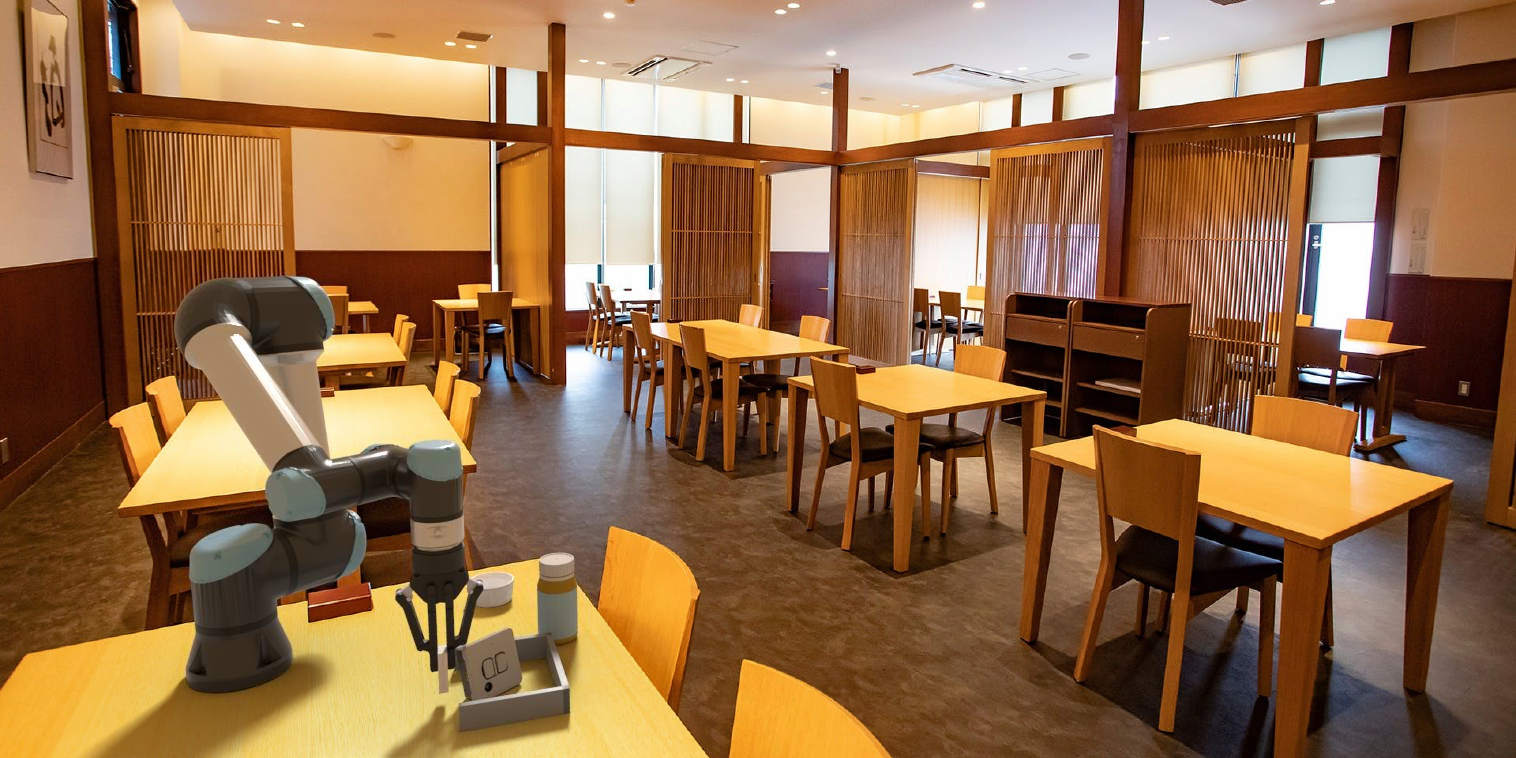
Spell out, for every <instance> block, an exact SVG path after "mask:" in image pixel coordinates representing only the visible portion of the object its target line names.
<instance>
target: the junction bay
mask: <svg viewBox="0 0 1516 758" xmlns="http://www.w3.org/2000/svg"><path fill="white" fill-rule="evenodd" d="M514 639H515V644H516V649H517V654H518V659H519V662H526V661H532V660H539V659H543V658H546V660H547V663H548V667H549V669H550V673H551V677H552V681H553V683H554V687H549V688H542V689H537V690H531V691H525V692H518V693H513V694H506V695H500V696H499V695H498V696H495V697H493V698H487V699H481V700H475V701H472V700H470V701H463V702H458V720H459V721H458V722H459V723H458V724H459V725H458V726H459V733H463V732H468V731H473V730H478V729H484V728H489V727H490V728H491V727H496V726H501V725H506V724H507V725H508V724H512V723H517V722H524V721H531V720H536V719H541V718H545V717H552V716H558V715H563V714H569V713H571V688H570V684H569V682H568V678H567V676H566V674H565V673H566V672H565V670H564V667H563V664H562V661H561V658H560V654H559V652H558V649H557V645H555V642H554V639H553V636H552V633H551V632H550V633H543V634H538V633H537V634H536V633H535V634H529V635H523V636H514ZM468 644H469V643H466V644H465V645H463V646H466V645H468ZM463 646H462V645H461V646H458V647H457V648H456V650H457V649H459V648H461V647H463ZM456 650H455V663H456V666H455V668H454V672H458V671H459V672H460V669H459V665H458V660H457V655H456ZM465 669H466V668H465Z"/></svg>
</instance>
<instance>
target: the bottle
mask: <svg viewBox="0 0 1516 758" xmlns="http://www.w3.org/2000/svg"><path fill="white" fill-rule="evenodd" d="M538 572H539V574H538V575H539V578H538V580H537V583H536V595H537V596H536V600H537V601H536V603H537V605H536V606H537V609H536V610H537V634H543V633H550V632H551V633H552V636H553V639H554V642H555V645H556V646H560V645H561V646H562V645H565V644H568V643H570V642H572V641H573V640H574V639H575V638H577V635H578V633H579V632H578V629H579V627H578V626H579V623H578V618H579V617H578V582H577V579H576V577H575V557H574V555H572V554H570V553H568V552H551V553H548V554H545V555H542V556H540V558H539V559H538Z"/></svg>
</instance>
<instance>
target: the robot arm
mask: <svg viewBox="0 0 1516 758" xmlns="http://www.w3.org/2000/svg"><path fill="white" fill-rule="evenodd" d="M173 323H174V324H173V329H174V330H173V331H174V338H175V341H176V344H177V346H178V349H179V351H180V352H181V354H182V356H183V357H184V359H185V360H186V362H187V363H188V364H189V365H190V366H191V367H192V368H195V369H198V370H201V371H202V372H203V374H204V375H205V378H207V380H208V382H209V383H210V385H212V387H213V389H214V390H215V392H216V393H217V395H218V396H219V399H221V401H222V403H224V405H225V407H226V408H227V410H228V411H229V412H230V414H231V416H232V417H233V419H234V420H235V422H236V424H237V425H238V427H239V428H240V429H241V430H242V432H243V434H244V435H245V436H246V438H247V440H248V442H249V443H250V444H251V446H252V448H253V449H254V450H255V452H256V454H257V455H258V456H259V459H260V460H261V461H262V462H263V464H264V465H265V468H267V470H268V471H269V473H270V474H269V476H267V480H266V482H265V487H264V488H265V489H264V493H265V494H264V495H265V499H266V500H267V502H268V508H269V510H270V512H271V514H272V521H273V528H271V527H270V526H269V525H267V524H264V523H255V522H254V523H246V524H243V525H239V524H238V525H233V526H229V527H227V528H223V529H220V530H217V531H215V532H213V533H209V534H208V535H205V537H204V536H203V538H201V539H200V540H199V541H198V542H196V543H195V545H194V546H193V547H192V548H191V551H190V553H189V569H188V570H189V571H188V578H189V581H190V587H191V588H190V589H191V598H192V608H193V609H192V610H193V618H194V619H193V620H194V628H195V629H194V630H195V631H194V632H195V634H194V638H193V641H192V645H191V648H190V651H189V655H188V659H187V662H186V666H185V677H186V678H185V679H186V684H187V686H188V687H189V688H191V687H192V688H191V689H193V690H195V691H198V692H202V691H205V692H204V693H226V692H227V693H228V692H233V691H234V692H235V691H239V690H244V689H248V688H252V687H255V686H258V685H261V684H264V683H266V682H267V683H268V681H271V680H273V679H275V678H277V677H279V676H280V675H282V674H284V673H285V671H287V670H288V669H289V668H290V667H291V666H292V664H293V661H294V656H293V646H292V644H291V641H290V640H289V637H288V635H287V634H286V631H285V629H284V627H283V625H282V623H281V621H280V619H279V616H278V615H279V614H278V601H277V600H279V599H281V598H285V597H287V596H290V595H294V594H297V593H299V592H300V593H301V592H302V591H303V592H304V591H305V590H310V589H312V588H316V587H318V586H321V585H325V584H327V583H328V584H330V583H331V584H332V583H334V582H336V581H338V580H339V579H341V578H344V577H347V576H349V575H351V574H353V573H354V572H355V571H357V570H358V569H359V567H360V565H361V563H363V561H364V559H365V555H366V552H367V551H366V549H367V534H366V528H365V526H364V525H365V524H364V523H362V521H361V520H362V518H361V517H360V516H359V515H358V514H357V512H355V511H354V510H351V509H348V508H351V507H357V506H361V505H364V504H365V505H366V504H368V503H372V502H376V501H379V500H384V499H387V498H392V497H393V498H394V497H396V498H399V499H403V500H405V501H406V500H407V501H409V516H410V536H411V538H410V539H411V544H412V545H413V547H412V548H411V563H412V574H411V577H410V579H409V583H408V584H407V585H405V586H404V587H402V588H398V589H396V590H395V596H394V600H395V602H396V603H397V604H398V605H399V607H400V608H402V609H403V610H402V611H403V613H404V616H405V619H406V621H407V624H408V629H409V630H410V633H411V637H412V639H413V643H414V645H415V648H416V650H417V651H418V652H423V651H424V652H427V653H428V654H429V670H430V672H431V673H436V672H438V695H439V694H440V695H441V694H445V693H446V694H447V693H450V692H449V670H450V671H451V670H455V666H456V663H455V650H456V648H457V647H458V646H461V645H462V646H463V645H466V644H468V640H469V636H470V631H471V627H472V622H473V619H474V614H475V610H476V607H477V606H476V602H477V599H478V598H479V596H480V595H481V593H482V591H483V590H484V587H483V582H482V580H475V579H473V578H472V577H470V574H469V572H468V570H467V568H466V550H465V543H464V541H463V540H464V538H465V519H464V518H465V517H464V515H465V514H464V489H463V487H464V485H463V483H464V481H463V477H464V476H463V472H464V467H463V463H462V455H461V454H462V452H461V447H460V446H459V444H458V443H457V442H455V441H452V440H448V439H444V440H442V439H441V440H440V439H429V440H423V441H422V440H421V441H417V442H415V443H412V444H411V445H410V446H409V447H408V448H407V447H403V446H399V445H397V444H393V443H374V444H371V445H369V446H367V447H366V448H365V449H364V450H362V451H361V452H359V453H357V454H352V455H347V456H342V457H336V458H331V454H330V447H329V441H328V440H329V439H328V435H327V428H326V420H325V412H324V405H323V399H322V393H321V392H322V391H321V386H320V379H319V372H318V371H319V370H318V365H317V361H318V359H319V358H320V357H321V356H322V354H323V353H324V352H325V348H324V347H325V346H324V342H325V341H327V340H328V339H330V338H331V337H332V335H333V333H334V331H335V330H334V327H335V325H336V324H335V323H336V318H335V311H334V308H333V304H332V302H331V299H330V298H329V295H328V294H327V293H326V291H325V289H323V287H321V285H320V284H319V283H318V282H317V281H315V280H313V279H312V278H309V277H305V276H292V275H291V276H290V275H279V276H277V275H276V276H257V277H256V276H255V277H253V276H252V277H251V276H249V277H219V278H212V279H209V280H207V281H204V282H201V283H200V284H198V285H197V286H195V287H193V288H192V289H191V290H190V291H189V292H188V293H187V294H186V295H185V297H183V299H182V301H181V302H180V304H179V306H178V308H177V310H176V312H175V318H174V322H173ZM465 587H466V593H467V598H466V601H465V606H464V610H463V614H462V619H461V623H460V627H459V632H458V634H457V635H455V634H456V633H455V606H454V605H455V604H454V601H456V599H457V598H458V596H459V595H460V594H461V593H462V591H463V589H465ZM413 592H414V593H415V594H416V595H417V596H418V598H420V599H421V600H422V601H423V602H424V603H425V604H427V606H426V607H427V608H426V609H427V627H428V639H427V638H425V636H424V632H423V630H422V627H421V624H420V621H419V617H418V614H417V612H416V609H415V606H414V603H413V598H414V595H413ZM440 603H442V604H444V605H445V606H444V607H445V608H444V613H445V637H446V641H445V643H446V644H444V645H439V641H438V623H437V622H438V620H437V617H438V616H437V605H438V604H440Z"/></svg>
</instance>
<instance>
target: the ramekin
mask: <svg viewBox="0 0 1516 758" xmlns="http://www.w3.org/2000/svg"><path fill="white" fill-rule="evenodd" d="M471 578H473V579H475V580H482V582H483V587H484V590H483V591H482V593H481V595H480V596H479V598H478V599H477V602H476V606H475V607H478V608H497V607H500V606H502V605H505V604H507V603H508V602H510V601H512V599H513V595H514V594H513V593H514V581H515V576H514V575H513V574H511V573H509V572H506V571H505V572H504V571H489V572H483V573H482V572H481V573H479V574H476V575H474V576H472V577H471Z"/></svg>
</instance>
